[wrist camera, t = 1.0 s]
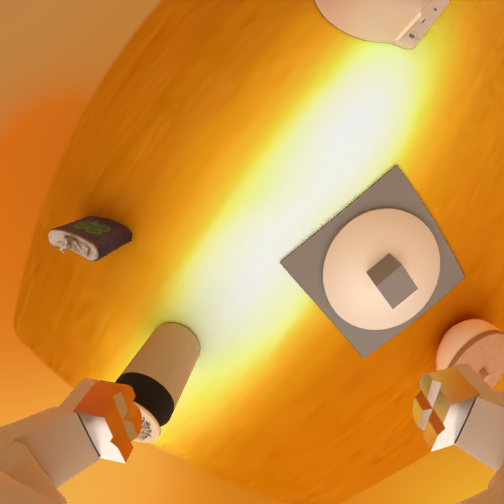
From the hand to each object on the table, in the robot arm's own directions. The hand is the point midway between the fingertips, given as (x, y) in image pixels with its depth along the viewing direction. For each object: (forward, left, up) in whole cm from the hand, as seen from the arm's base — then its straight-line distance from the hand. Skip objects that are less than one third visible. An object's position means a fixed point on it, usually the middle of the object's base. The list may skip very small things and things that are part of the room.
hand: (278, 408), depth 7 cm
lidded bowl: (-9, +34, -33) cm, 48 cm away
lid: (-5, +14, -32) cm, 36 cm away
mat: (-5, +14, -33) cm, 36 cm away
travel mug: (+26, +4, -33) cm, 42 cm away
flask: (+21, -16, -33) cm, 42 cm away
